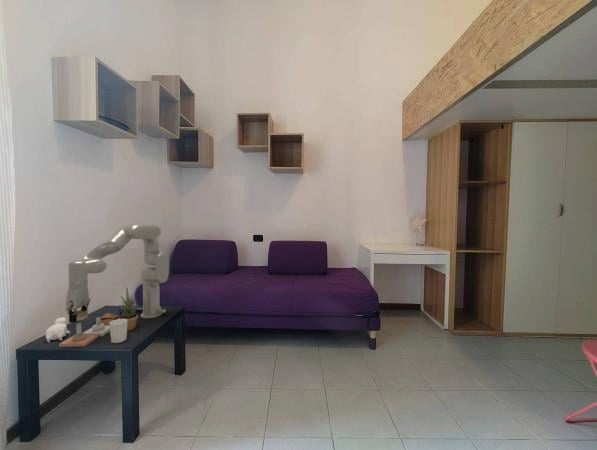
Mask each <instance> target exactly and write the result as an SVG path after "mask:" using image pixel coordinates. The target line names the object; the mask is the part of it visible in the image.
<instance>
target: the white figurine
mask: <svg viewBox="0 0 597 450" xmlns="http://www.w3.org/2000/svg"><path fill="white" fill-rule="evenodd" d="M67 323H68V320H67V318H66V317H59V318H56V319H55V320H54V324H52V325H51V326H49V327H48V328H47V329H46V332H45V339H46V342H48V343H50V342H51V341H56V340H59V341H63V337H66V336H67V335H69V334H70V333H71V331H70V330H69V329H68V327H67Z"/></svg>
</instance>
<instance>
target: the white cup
mask: <svg viewBox="0 0 597 450" xmlns="http://www.w3.org/2000/svg"><path fill="white" fill-rule="evenodd" d="M127 321H128V320H127V319H119V318H116V319H115V320H113V321H111V322H110V325H109V326H110V332H109V335H110V343H112V344H119V343H122V342H124V341H126V340H127V336H128V335H127V334H128V331H127Z"/></svg>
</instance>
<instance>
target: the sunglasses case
mask: <svg viewBox="0 0 597 450" xmlns="http://www.w3.org/2000/svg"><path fill="white" fill-rule="evenodd" d="M119 317H120V315H118V314H114V313H110V312H108V311H107V312H106V313H104V314H103V315H102V316H100V318H101V323H104V324H105V326H110V322H111V321H113V320H117V319H119ZM95 324H96V320H95V321H94V322H93V324H92V326H93V325H95Z"/></svg>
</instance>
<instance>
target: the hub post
mask: <svg viewBox="0 0 597 450" xmlns="http://www.w3.org/2000/svg"><path fill="white" fill-rule="evenodd" d="M75 329H76V334H73V335H72V336H70V337H69V338H67V339H65V340H62V342H59V343H58V347H59V348H66V347H71V348H72V347H86V346H87V345H89V344H90V343H92V342H93V341H95V340H96V339H98V338H99V336H98V335H86V333H84V332H82V323H81V322H76V328H75Z"/></svg>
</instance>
